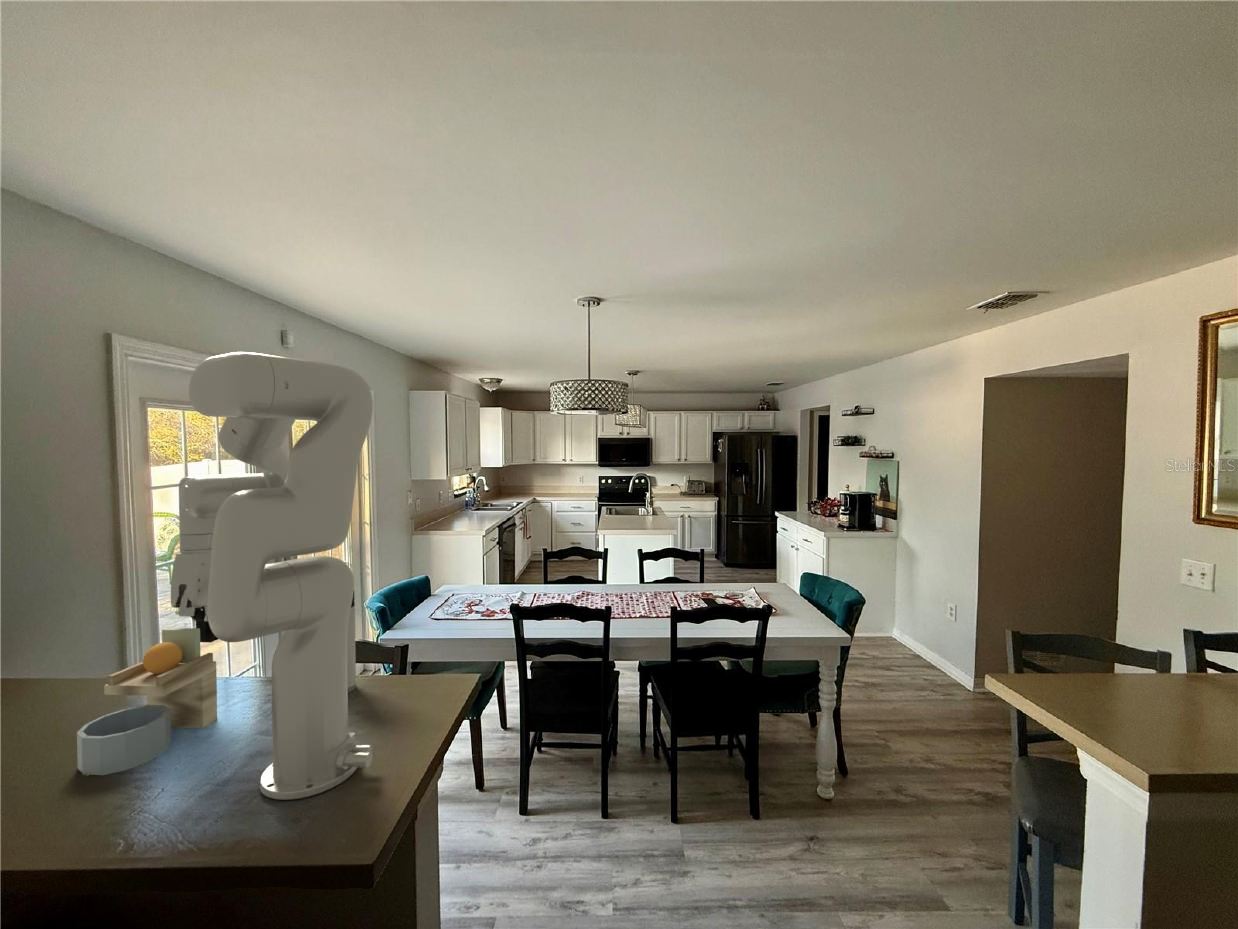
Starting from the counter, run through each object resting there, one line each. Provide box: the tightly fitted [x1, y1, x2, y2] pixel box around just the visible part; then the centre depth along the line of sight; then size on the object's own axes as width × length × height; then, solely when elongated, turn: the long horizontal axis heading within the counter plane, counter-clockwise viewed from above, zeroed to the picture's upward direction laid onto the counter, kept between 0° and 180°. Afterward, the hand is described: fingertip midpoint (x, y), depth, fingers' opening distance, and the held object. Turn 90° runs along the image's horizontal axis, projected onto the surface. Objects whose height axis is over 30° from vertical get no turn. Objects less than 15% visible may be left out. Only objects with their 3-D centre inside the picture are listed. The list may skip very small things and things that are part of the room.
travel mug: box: [347, 592, 357, 694], centre depth 104 cm, size 6×7×20 cm
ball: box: [142, 642, 182, 674], centre depth 88 cm, size 5×5×5 cm
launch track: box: [103, 652, 218, 729], centre depth 88 cm, size 10×10×12 cm
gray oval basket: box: [76, 704, 172, 776], centre depth 81 cm, size 10×10×6 cm
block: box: [161, 627, 202, 663], centre depth 92 cm, size 6×2×6 cm, turn 88°
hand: (207, 640), depth 97 cm, fingers closed
